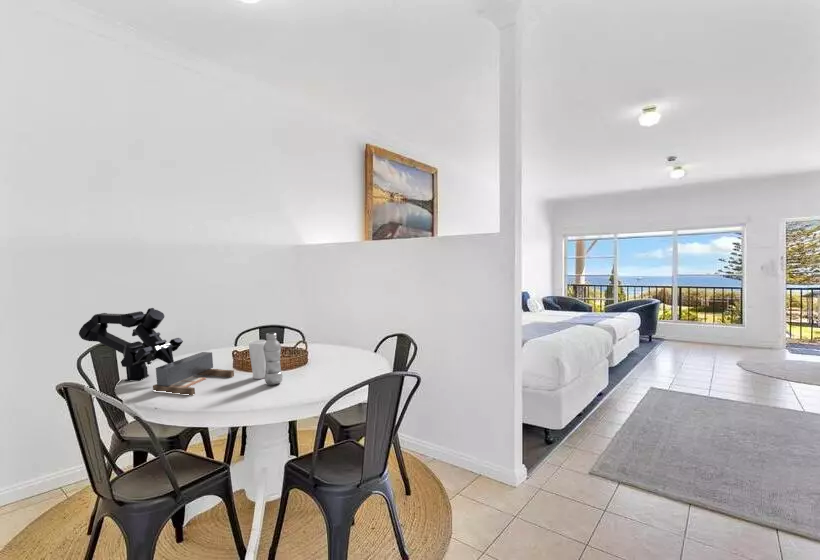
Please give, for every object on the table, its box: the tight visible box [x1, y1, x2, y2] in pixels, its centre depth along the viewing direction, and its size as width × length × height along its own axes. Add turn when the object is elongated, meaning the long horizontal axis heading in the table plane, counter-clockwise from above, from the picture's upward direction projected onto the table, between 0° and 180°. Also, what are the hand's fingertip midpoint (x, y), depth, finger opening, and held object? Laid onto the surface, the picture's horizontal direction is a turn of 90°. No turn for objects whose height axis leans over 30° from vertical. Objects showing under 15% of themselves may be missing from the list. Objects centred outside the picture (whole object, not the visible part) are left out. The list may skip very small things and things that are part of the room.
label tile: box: [170, 376, 207, 387], centre depth 166 cm, size 8×11×1 cm
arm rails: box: [152, 368, 235, 396], centre depth 165 cm, size 18×22×2 cm
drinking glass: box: [248, 339, 267, 380], centre depth 170 cm, size 7×7×15 cm
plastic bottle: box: [263, 332, 283, 386], centre depth 161 cm, size 6×7×20 cm
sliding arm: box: [155, 351, 214, 386], centre depth 166 cm, size 5×23×6 cm, turn 164°
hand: (172, 364), depth 167 cm, fingers closed
